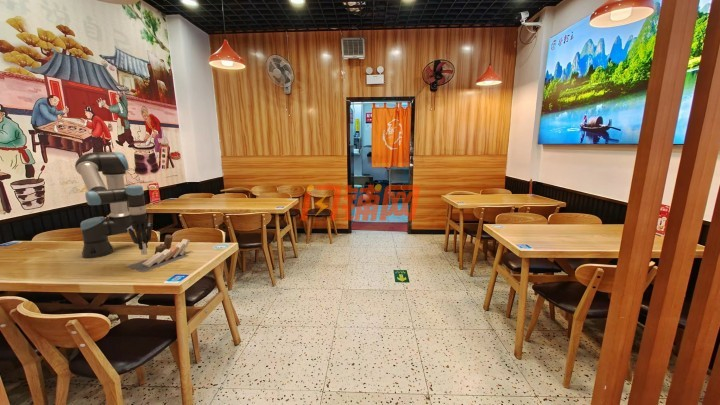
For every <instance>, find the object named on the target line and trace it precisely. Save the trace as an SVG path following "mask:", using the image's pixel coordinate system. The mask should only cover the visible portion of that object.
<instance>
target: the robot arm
mask: <svg viewBox="0 0 720 405" xmlns="http://www.w3.org/2000/svg"><path fill="white" fill-rule="evenodd" d="M74 166H75V170H76V172H77V173H78V174H79V175H81V178H82V181H83V183H84V185H85V187H86V190H87V191H86V192H85V194H84V195H85V200H86V203H87V205H89V206H100V205H107V204H109V207H110V213H109V214H108V217H104V216H95V217H91V218H90V217H89V218H87V219H84V220H82V221H81V222H80V232H81V234H82V241H83V247H82V252H81V255H82V258H83V259H92V258H99V257H103V256H107V255H110V254H112V253H114V252H115V251H114V247H113V246H112V245H113V244H111V242H110V240H109V237H111V236H115V235H117V236H118V235H121V234H123V235H124V234H128V233H129V236H130V238H131V240H132V242H133V244H135V245H138V250H139V251H140V253H141V255H142V256H146V255H148V251H147V249H148V247H149V246H148V243H149V242H150V241H151V240H152V232H153V229H152V228H153V226H154V223H152V222H149V220H148V214H147V213H146V212H147V207H146V201H145V200H146V199H145V194H144V193H145V191H144V188H143V186H142V185H139V184H137V185H136V184H134V185H133V184H132V185H131V184H130V185H126V186H125V179H124V176H125V175H127V172H126V171H129V168H130V167H129V162H128V160H127V157H126V155H125V154H124V153H123V152H119V151H118V152H117V151H107V152H105V151H103V152H88V153H84V154H83V155H81V156H80V157H78V159H77V160H76V162H75V165H74ZM100 172H101V174H102V175H103V176H104V177H105V179H106V185H105V183H104V180H103V179H102V177H101V175H100Z"/></svg>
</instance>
